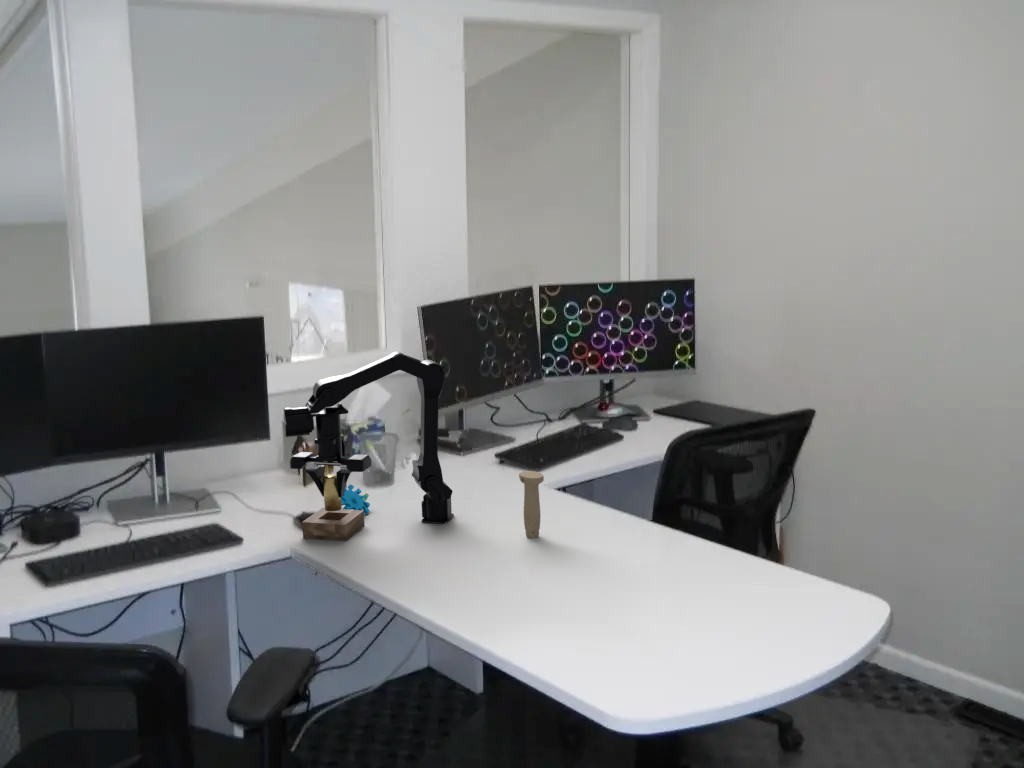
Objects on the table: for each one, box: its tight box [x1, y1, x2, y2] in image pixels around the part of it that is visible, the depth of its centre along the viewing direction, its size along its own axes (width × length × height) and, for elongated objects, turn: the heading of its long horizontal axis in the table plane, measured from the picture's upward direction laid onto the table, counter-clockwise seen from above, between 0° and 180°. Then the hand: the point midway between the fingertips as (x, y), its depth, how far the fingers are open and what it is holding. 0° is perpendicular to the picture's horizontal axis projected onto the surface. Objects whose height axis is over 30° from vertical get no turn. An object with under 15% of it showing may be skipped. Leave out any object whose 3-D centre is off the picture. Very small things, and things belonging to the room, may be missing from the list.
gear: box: [341, 484, 371, 517], centre depth 254 cm, size 11×6×10 cm
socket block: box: [301, 507, 365, 542], centre depth 240 cm, size 11×11×4 cm
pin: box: [323, 473, 343, 511], centre depth 238 cm, size 4×4×8 cm
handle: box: [518, 470, 545, 539], centre depth 233 cm, size 5×6×15 cm
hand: (332, 496), depth 239 cm, fingers closed on pin, 4 cm apart
